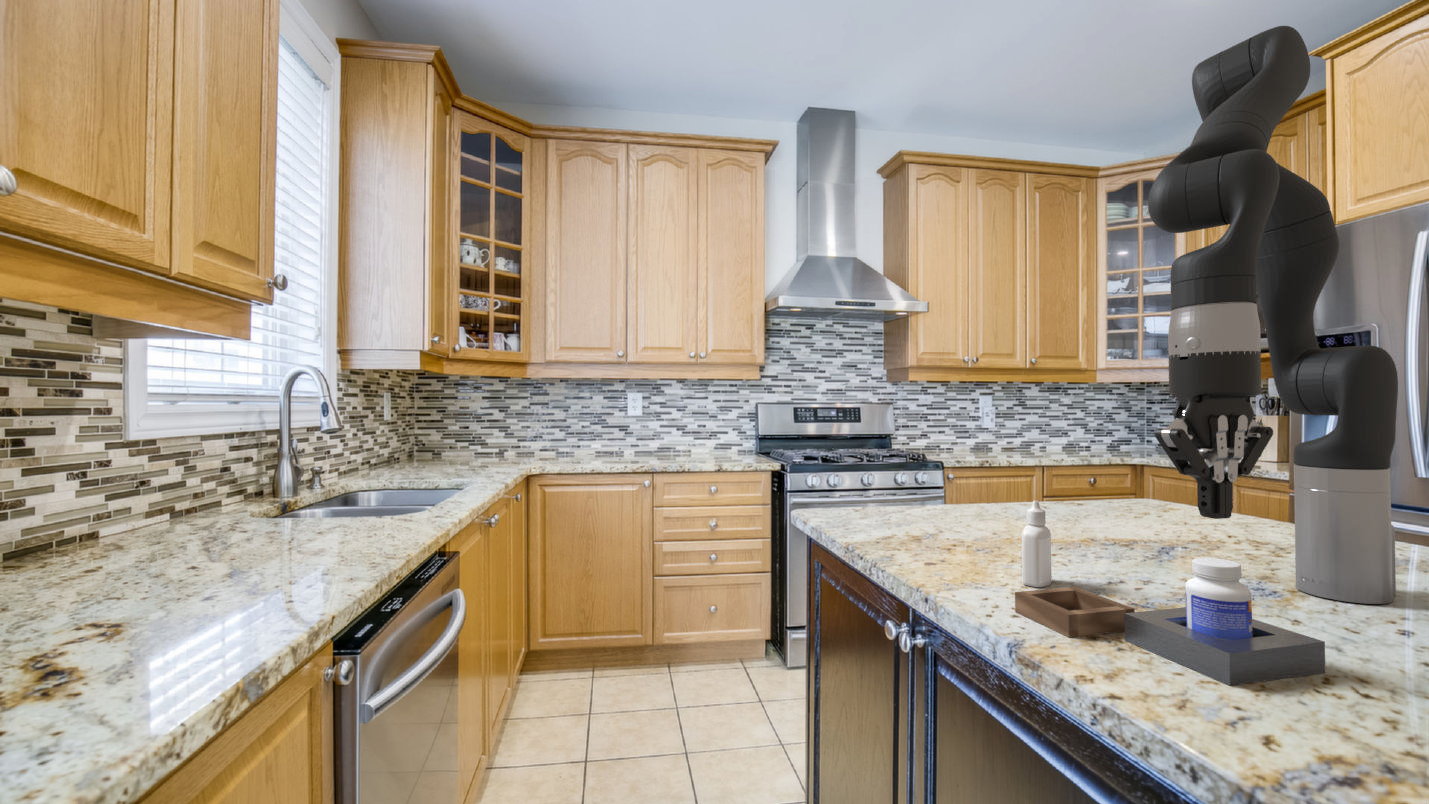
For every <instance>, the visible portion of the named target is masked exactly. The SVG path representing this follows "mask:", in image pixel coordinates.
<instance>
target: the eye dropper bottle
mask: <svg viewBox="0 0 1429 804" xmlns="http://www.w3.org/2000/svg"><path fill="white" fill-rule="evenodd" d="M1026 523H1027V525H1026V526H1025V527H1024V528H1023V529H1022V531H1021V532H1022V533H1021V565H1022V566H1021V570H1022V571H1021V574H1022V575H1021V576H1022V577H1021V578H1022V580H1021V581H1022V584H1023V585H1025V586H1027V587H1031V588H1032V587H1033V588H1044V587H1047V586H1049V585H1051V583H1052V577H1053V576H1052V534H1051V531H1050V529H1049V527H1047V526H1045V525H1046V511H1045V510H1044V509H1042V508H1041V505H1040V501H1038V500H1033V501H1032V505H1031V507H1030V508H1028V509H1026Z"/></svg>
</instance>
